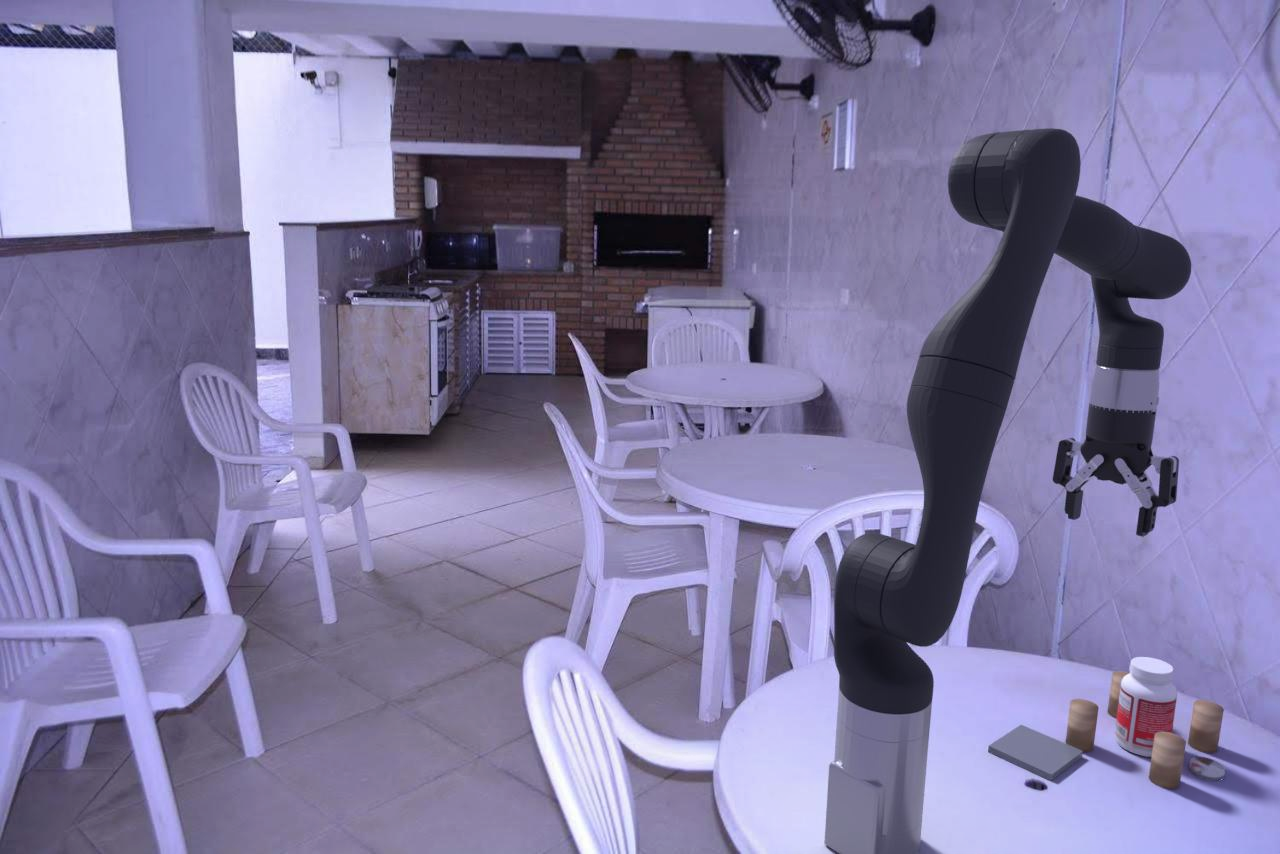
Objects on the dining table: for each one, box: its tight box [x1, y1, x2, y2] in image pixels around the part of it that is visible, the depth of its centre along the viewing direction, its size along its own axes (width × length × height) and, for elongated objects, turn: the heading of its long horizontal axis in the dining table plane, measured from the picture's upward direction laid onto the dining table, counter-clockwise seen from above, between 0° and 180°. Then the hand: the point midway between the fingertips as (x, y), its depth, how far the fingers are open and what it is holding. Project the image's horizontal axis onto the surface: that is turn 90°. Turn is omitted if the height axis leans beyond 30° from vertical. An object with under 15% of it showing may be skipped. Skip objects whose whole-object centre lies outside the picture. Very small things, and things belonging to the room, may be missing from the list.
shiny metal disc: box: [1189, 756, 1226, 782], centre depth 110 cm, size 4×4×1 cm
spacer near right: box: [1065, 698, 1099, 753], centre depth 115 cm, size 3×3×6 cm
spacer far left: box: [1187, 699, 1224, 754], centre depth 115 cm, size 3×3×6 cm
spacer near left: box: [1148, 732, 1187, 790], centre depth 108 cm, size 3×3×6 cm
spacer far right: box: [1107, 670, 1130, 719], centre depth 123 cm, size 3×3×6 cm
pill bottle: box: [1114, 656, 1178, 758], centre depth 115 cm, size 6×6×11 cm
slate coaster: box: [987, 724, 1084, 781], centre depth 114 cm, size 8×8×1 cm
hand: (1107, 526), depth 118 cm, fingers open, 8 cm apart
